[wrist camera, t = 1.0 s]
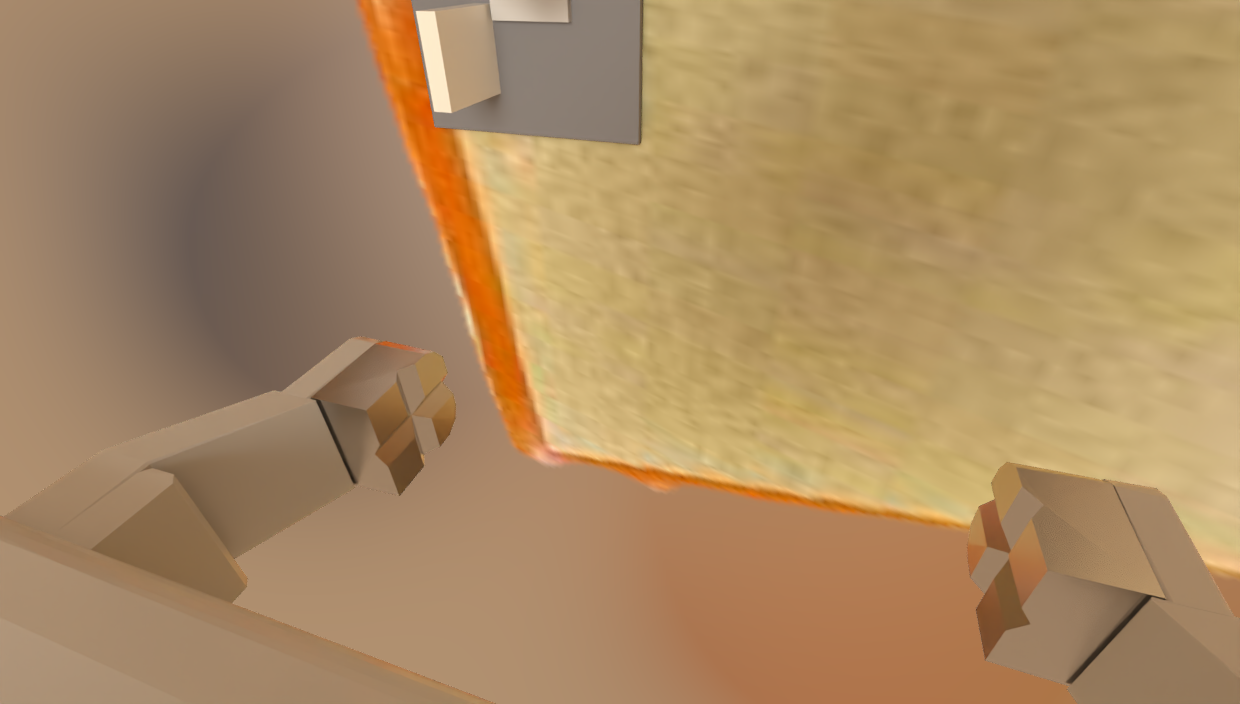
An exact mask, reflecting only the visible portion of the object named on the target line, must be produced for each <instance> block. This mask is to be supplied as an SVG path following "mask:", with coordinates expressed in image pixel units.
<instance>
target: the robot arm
mask: <svg viewBox="0 0 1240 704" xmlns="http://www.w3.org/2000/svg"><path fill="white" fill-rule="evenodd" d="M447 373H448V372H447V369H446V366H445V362H444V359H443V356H441V355H439V354H437V353H435V352H433V351H428V350H424V349H419V348H415V347H410V346H406V345H401V344H396V343H392V342H387V341H379V340H375V339H371V338H367V337H362V336H361V337H355V338H350V339H349V340H348V341H347V342H345V343H344V344H343V345H341V346H340V347H339V348H337V349H336V350H335V351H334V352H332V353H331V354H330V355H328V356H327V357H326V358H325V359H323V360H322V361H321V362H319V363H318V364H317V365H316V366H314V367H313V368H312V369H310V370H309V371H308V372H307V373H306V374H304V375H303V376H302V377H300V378H299V379H298V380H296V381H295V382H294V383H293V384H291V385H290V386H289V387H288V388H286V389H285V390H284V391H282V392H278V391H271V392H268V393H265V394H262V395H259V396H257V397H254V398H251V399H248V400H245V401H242V402H239V403H236V404H233V405H231V406H228V407H225V408H222V409H219V410H216V411H213V412H210V413H207V414H204V415H201V416H199V417H196V418H193V419H190V420H187V421H184V422H181V423H178V424H175V425H173V426H170V427H167V428H164V429H161V430H158V431H155V432H152V433H149V434H146V435H144V436H141V437H138V438H135V439H132V440H129V441H126V442H123V443H120V444H117V445H115V446H112V447H109V448H106V449H103V450H101V451H100V452H99V453H97V454H95V455H94V456H93V457H91V458H90V459H88V460H87V461H85V462H84V463H82V464H81V465H79V466H78V467H76V468H75V469H73V470H72V471H70V472H69V473H68V474H66V475H65V476H63V477H62V478H60V479H59V480H57V481H56V482H54V483H53V484H51V485H50V486H48V487H47V488H45V489H44V490H42V491H41V492H40V493H38V494H36V495H35V496H33V497H32V498H30V499H29V500H28V501H26V502H25V503H23V504H22V505H20V506H19V507H17V508H16V509H15V510H13V511H11V512H10V513H8V514H7V515H5V516H4V517H3V516H0V704H496V703H493V702H490V701H488V700H485V699H483V698H480V697H477V696H475V695H472V694H470V693H467V692H464V691H462V690H459V689H456V688H454V687H451V686H449V685H446V684H443V683H441V682H438V681H435V680H433V679H430V678H427V677H425V676H422V675H420V674H417V673H414V672H412V671H409V670H406V669H404V668H401V667H398V666H396V665H393V664H390V663H388V662H385V661H383V660H380V659H377V658H375V657H372V656H369V655H367V654H364V653H362V652H359V651H356V650H354V649H351V648H348V647H346V646H343V645H340V644H338V643H335V642H332V641H330V640H327V639H324V638H322V637H319V636H317V635H314V634H311V633H309V632H306V631H303V630H301V629H298V628H296V627H293V626H290V625H288V624H285V623H282V622H280V621H277V620H275V619H272V618H269V617H267V616H264V615H261V614H259V613H256V612H253V611H251V610H248V609H246V608H243V607H240V606H238V605H235V604H232V603H233V601H234V600H235V599H236V598H237V597H238V596H239V595H240V594H241V593H242V592H243V591H244V590H245V588H246V587H247V579H248V578H247V576H246V575H245V574H244V572H243V571H242V569H241V568H240V567H239V565H238V564H237V562H236V561H235V560H234V559H235V558H237V557H238V556H240V555H242V554H244V553H245V552H247V551H249V550H251V549H252V548H254V547H256V546H257V545H259V544H261V543H262V542H264V541H266V540H268V539H269V538H271V537H273V536H274V535H276V534H278V533H279V532H281V531H283V530H285V529H286V528H288V527H290V526H291V525H293V524H295V523H296V522H298V521H300V520H301V519H303V518H305V517H306V516H308V515H310V514H312V513H313V512H315V511H317V510H318V509H320V508H322V507H324V506H325V505H327V504H328V503H330V502H332V501H334V500H335V499H337V498H339V497H341V496H342V495H344V494H346V493H347V492H349V491H351V490H352V489H354V488H355V486H354V485H356V486H360V487H364V488H368V489H372V490H376V491H380V492H384V493H388V494H392V495H397V496H400V495H401V494H402V493H403V491H404V490H405V489H406V488H407V486H408V485H409V484H410V483H411V482H412V481H413V479H414V478H415V477H416V476H417V474H418V473H419V472H420V471H421V470H422V468H423V467H424V455H425V454H427V453H429V452H431V451H433V450H435V449H437V448H439V447H440V446H441V445H442V444H443V443H444V441H445V440H446V439H447V437H448V436H449V435H450V432H451V430H452V427H453V424H454V422H455V419H456V403H455V399H454V395H453V393H452V392H451V391H450V390H449V388H448V387H447V386H446V385H445V384H444V383H443V380H444V378H445V377H446V375H447ZM991 484H992V489H993V493H994V497H995V499H994V500H992V501H990V502H987V503H985V504H983V505H981V506H979V507H978V510H977V512H976V514H975V516H974V518H973V520H972V523H971V526H970V532H969V537H968V542H967V559H968V567H969V573H970V578H971V579H972V580H973V581H974V582H975V584H976V585H977V586H978V587H979V588H980V589H981V591H982V592H983V593H984V594H985V595H984V596H983V598H982V599H981V601H980V603H979V605H978V606H977V608H976V614H977V618H978V624H979V630H980V635H981V640H982V646H983V652H984V657H985V661H988V662H992V663H995V664H998V665H1001V666H1005V667H1008V668H1011V669H1015V670H1018V671H1021V672H1024V673H1028V674H1031V675H1034V676H1038V677H1041V678H1044V679H1048V680H1051V681H1054V682H1057V683H1061V684H1064V685H1067V686H1069V687H1068V689H1067V690H1068V691H1069V693H1070V694H1071V695H1072V697H1073V698H1074V699H1075V701H1076V702H1077V703H1078V704H1240V618H1237V617H1234V615H1233V613H1232V611H1231V610H1230V608H1229V606H1228V604H1227V603H1226V601H1225V599H1224V597H1223V595H1222V594H1221V592H1220V590H1219V588H1218V587H1217V585H1216V583H1215V581H1214V579H1213V578H1212V576H1211V574H1210V572H1209V570H1208V569H1207V567H1206V565H1205V563H1204V562H1203V560H1202V558H1201V556H1200V554H1199V553H1198V551H1197V549H1196V547H1195V546H1194V544H1193V542H1192V540H1191V538H1190V537H1189V535H1188V533H1187V531H1186V530H1185V528H1184V526H1183V524H1182V522H1181V521H1180V519H1179V517H1178V515H1177V514H1176V512H1175V510H1174V508H1173V506H1172V505H1171V503H1170V501H1169V499H1168V498H1167V497H1166V496H1165V495H1164V494H1163V493H1162V492H1160V491H1159V490H1158V489H1156V488H1151V487H1145V486H1140V485H1134V484H1128V483H1123V482H1117V481H1111V480H1106V479H1104V480H1099V479H1096V478H1091V477H1085V476H1080V475H1074V474H1069V473H1064V472H1058V471H1053V470H1048V469H1042V468H1037V467H1031V466H1026V465H1021V464H1015V463H1010V462H1006V463H1005V464H1004V465H1003V466H1002V467H1000V468H999V469H998V471H997V473H996V475H995V477H994V479H993V480H992V482H991Z"/></svg>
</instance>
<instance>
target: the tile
mask: <svg viewBox="0 0 1240 704" xmlns="http://www.w3.org/2000/svg"><path fill="white" fill-rule="evenodd" d="M416 15H417V21H418V26H419V31H420V37H421V42H422V48H423V53H424V59H425V64H426V70H427V75H428V80H429V86H430V91H431V97H432V102H433V108H434V112H445V113H453V112H455V111H458V110H460V109H463V108H465V107H468V106H470V105H473V104H475V103H478V102H480V101H483V100H485V99H488V98H490V97H493V96H495V95H498V94H500V93H501V89H500V81H499V72H498V64H497V55H496V47H495V38H494V30H493V21H492V17H491V9H490V4H489V3H471V4H464V5H457V6H449V7H442V8H435V9H427V10H420V11H416Z"/></svg>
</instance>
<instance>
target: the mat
mask: <svg viewBox="0 0 1240 704" xmlns="http://www.w3.org/2000/svg"><path fill="white" fill-rule="evenodd" d="M411 1H412V7H413V12H414V17H415V23H416V28H417V34H418V39H419V44H420V50H421V55H422V61H423V66H424V71H425V77H426V82H427V88H428V93H429V98H430V104H431V109H432V114H433V120H434V125H435V127H440V128H452V129H463V130H475V131H487V132H498V133H510V134H521V135H533V136H545V137H556V138H568V139H580V140H591V141H603V142H614V143H626V144H638V145H639V144H640V143H641V91H642V19H643V0H571V15H572V22H533V21H496V20H492V21H493V30H494V38H495V47H496V55H497V64H498V72H499V81H500V89H501V93H500V94H498V95H495V96H493V97H490V98H488V99H485V100H483V101H480V102H478V103H475V104H473V105H470V106H468V107H465V108H463V109H460V110H458V111H455V112H453V113H445V112H434V108H433V102H432V97H431V91H430V86H429V80H428V75H427V70H426V64H425V59H424V53H423V48H422V42H421V37H420V31H419V26H418V21H417V15H416V11H420V10H427V9H435V8H442V7H449V6H457V5H464V4H471V3H489V4H490V0H411Z"/></svg>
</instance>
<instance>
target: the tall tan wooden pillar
mask: <svg viewBox="0 0 1240 704" xmlns="http://www.w3.org/2000/svg"><path fill="white" fill-rule="evenodd" d="M490 9H491V17H492V20H496V21H533V22H572V15H571V0H490Z"/></svg>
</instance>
